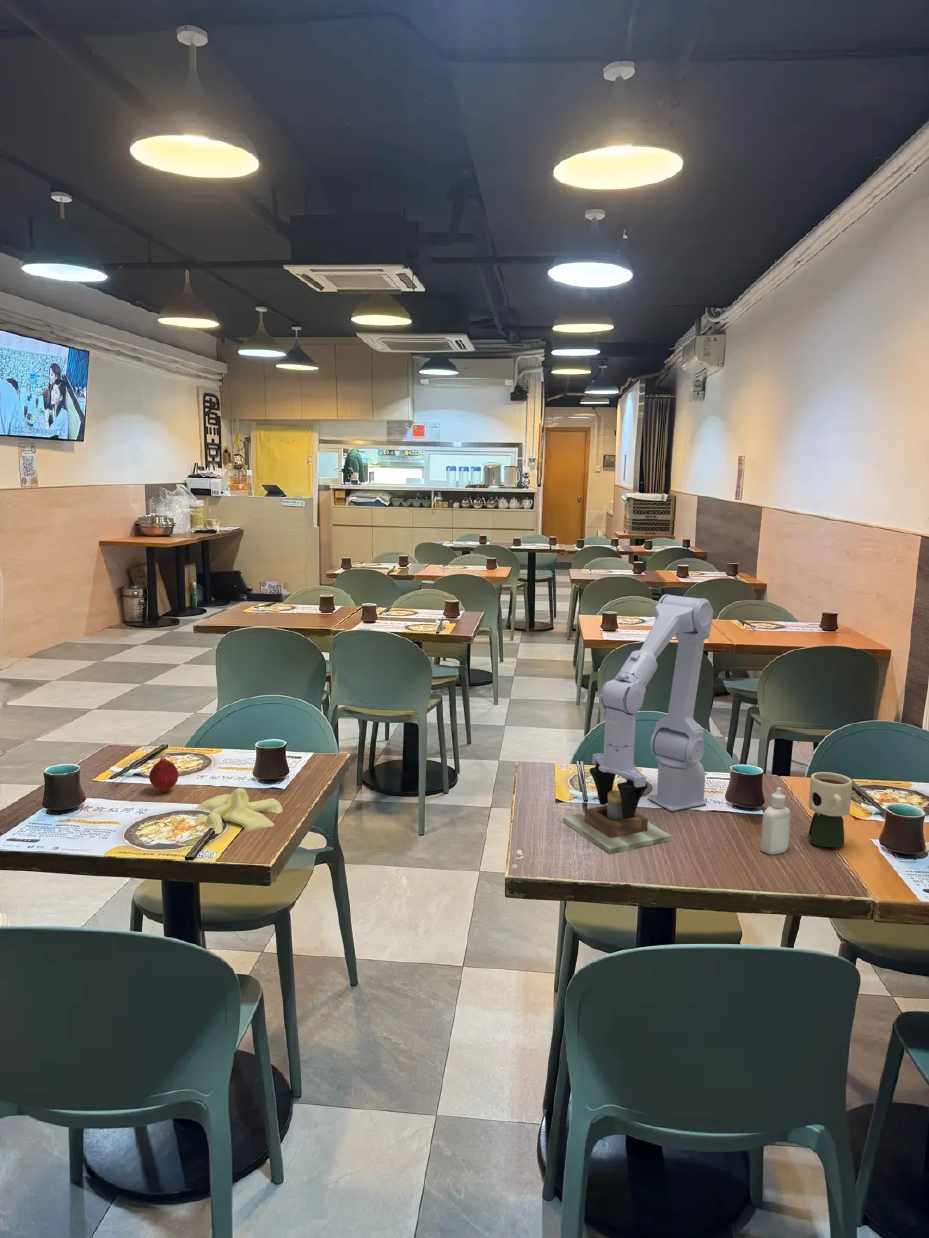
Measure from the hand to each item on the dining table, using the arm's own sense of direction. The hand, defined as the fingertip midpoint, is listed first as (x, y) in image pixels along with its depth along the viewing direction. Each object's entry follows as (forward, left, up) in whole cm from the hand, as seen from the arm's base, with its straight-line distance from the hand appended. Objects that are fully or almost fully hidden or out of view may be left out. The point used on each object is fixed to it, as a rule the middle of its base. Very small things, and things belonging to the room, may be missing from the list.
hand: (616, 810), depth 162 cm
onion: (+77, -56, -4) cm, 95 cm away
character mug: (-33, +21, -4) cm, 39 cm away
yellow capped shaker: (0, 0, -4) cm, 4 cm away
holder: (0, 0, -4) cm, 4 cm away
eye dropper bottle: (-22, +19, -4) cm, 29 cm away
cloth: (+66, -37, -5) cm, 76 cm away
